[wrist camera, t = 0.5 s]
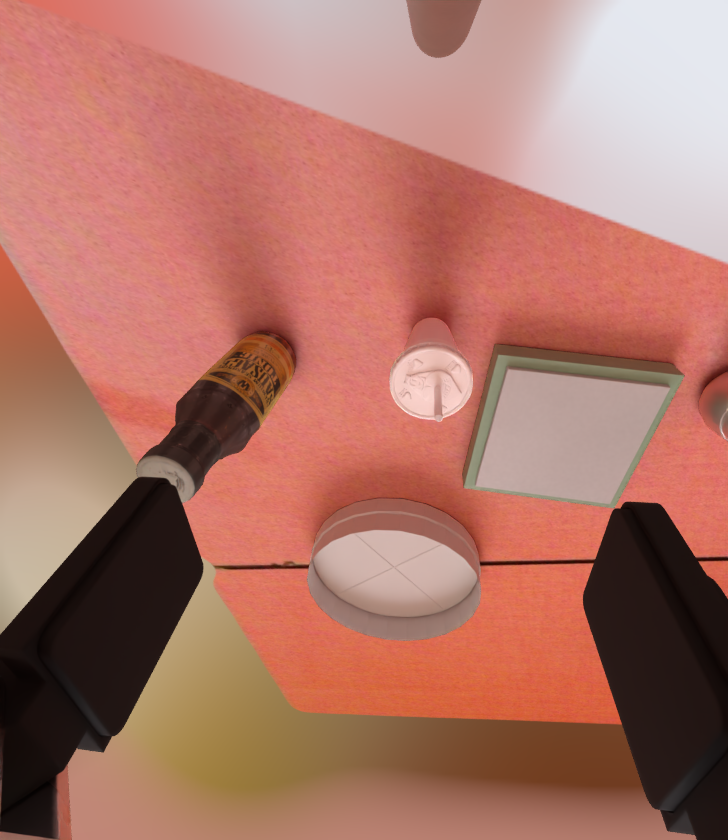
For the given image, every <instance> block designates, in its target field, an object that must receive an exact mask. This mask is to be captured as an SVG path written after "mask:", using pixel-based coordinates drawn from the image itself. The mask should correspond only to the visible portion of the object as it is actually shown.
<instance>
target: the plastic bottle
mask: <svg viewBox="0 0 728 840" xmlns="http://www.w3.org/2000/svg"><path fill="white" fill-rule="evenodd" d="M698 406H699V412H700V414H701V416H702V418H703V420H704V422H705V424H706V425H707V426H708V427H709V429H711V430H712V431H713V432H715V433H716V434H717V435H719V436H720V437H722V438H723V439H725V440H727V441H728V372H725V373H723V374H721V375H720V376H718V377H716V378H715V379H714V380H712V381H711V382H710V383H709V384H708V385H707V386H706V388H705V389H704V391H703V392H702V395H701V397H700V400H699V405H698Z"/></svg>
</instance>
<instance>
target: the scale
mask: <svg viewBox="0 0 728 840" xmlns="http://www.w3.org/2000/svg"><path fill="white" fill-rule="evenodd" d="M684 376H685V375H684V374H683V373H681V372H680V371H679V370H678V369H677V368H676V367H675V366H674V365H673V364H671V363H662V362H653V361H644V360H635V359H626V358H617V357H608V356H599V355H590V354H581V353H572V352H563V351H554V350H545V349H536V348H527V347H519V346H510V345H501V344H495V345H494V349H493V353H492V357H491V361H490V365H489V369H488V373H487V377H486V381H485V385H484V389H483V393H482V397H481V401H480V405H479V409H478V413H477V417H476V421H475V425H474V429H473V433H472V437H471V441H470V445H469V449H468V453H467V457H466V461H465V465H464V469H463V473H462V476H463V487H464V488H467V489H474V490H481V491H489V492H496V493H504V494H511V495H519V496H526V497H534V498H541V499H548V500H556V501H563V502H571V503H578V504H586V505H593V506H600V507H608V508H615V506H616V504H617V502H618V500H619V498H620V497H621V495H622V493H623V491H624V489H625V487H626V485H627V483H628V482H629V480H630V478H631V476H632V474H633V472H634V470H635V468H636V466H637V465H638V463H639V461H640V459H641V457H642V455H643V453H644V451H645V450H646V448H647V446H648V444H649V442H650V440H651V438H652V436H653V434H654V433H655V431H656V429H657V427H658V425H659V423H660V421H661V419H662V418H663V416H664V414H665V412H666V410H667V408H668V406H669V404H670V402H671V401H672V399H673V397H674V395H675V393H676V391H677V389H678V387H679V386H680V384H681V382H682V380H683V378H684Z"/></svg>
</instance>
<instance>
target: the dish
mask: <svg viewBox="0 0 728 840" xmlns="http://www.w3.org/2000/svg"><path fill="white" fill-rule="evenodd" d="M480 572H481V568H480V562H479V554H478V551H477V548H476V545H475V542H474V540H473V538H472V537H471V536H470V534H469V533H468V532H467V530H466V529H465V528H464V526H463V525H462V524H460V523H459V522H458V521H456V520H455V519H454V518H452V517H451V516H449V515H448V514H447V513H445V512H443V511H440V510H438V509H436V508H434V507H431V506H429V505H427V504H424V503H419V502H415V501H410V500H406V499H395V498H376V499H371V500H365V501H360V502H356V503H353V504H351V505H349V506H346V507H344V508H342V509H339V510H337V511H336V512H335V513H334V514H333V515H331V516H330V517H329V518H328V519H327V520H325V521H324V523H323V525H322V526H321V528H320V529H319V531H318V533H317V534H316V538H315V542H314V545H313V549H312V554H311V560H310V565H309V570H308V576H307V582H308V586H309V590H310V594H311V595H312V597H313V598H314V600H315V601H316V603H317V605H318V606H319V607H320V608H321V609H322V610H323V611H324V612H325V613H326V614H327V615H328V616H330V617H331V618H332V619H334V620H335V621H337V622H339V623H340V624H342V625H344V626H345V627H347V628H349V629H352V630H354V631H357V632H360V633H362V634H365V635H368V636H373V637H377V638H382V639H387V640H402V641H410V640H423V639H429V638H433V637H437V636H441V635H445V634H447V633H449V632H451V631H453V630H455V629H457V628H459V627H461V626H462V625H463V624H464V623H465V622H466V621H468V620H469V619H470V618H471V617H472V616H473V615H474V613H475V611H476V609H477V607H478V606H479V604H480V596H481V584H480Z"/></svg>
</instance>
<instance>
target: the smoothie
mask: <svg viewBox="0 0 728 840" xmlns="http://www.w3.org/2000/svg"><path fill="white" fill-rule="evenodd" d="M389 380H390V391H391V394H392V397H393V399H394V401H395V402H396V404H397V405H398V406H399V407H400V408H401V409H402V410H403V411H405V412H406V413H408V414H410V415H412V416H414V417H417V418H421V419H428V420H433V419H435V420H436V421H437V422H440V421H442V419H443V418H445V417H447V416H450V415H452V414H454V413H455V412H457V411H458V410H460V409H461V408H462V407H463V406H464V405H465V403H466V402H467V401H468V399H469V397H470V395H471V392H472V388H473V376H472V369H471V366H470V364H469V361H468V360H467V359H466V357H465V356H464V355H463V354H462V353H461V352H460V351H459V349H458V347H457V345H456V343H455V340H454V338H453V336H452V334H451V332H450V330H449V327H448V326H447V324H446V323H445V322H443V321H442V320H440V319H437V318H425V319H423V320H421V321H419V322H418V323H417V324H416V325H415V326H414V328H413V329H412V332H411V334H410V336H409V339H408V341H407V343H406V345H405V348H404V350H403V352H402V353H401V354H400V355H399V356H398V358H397V359H396V360H395V361H394V363H393V366H392V368H391V371H390V379H389Z"/></svg>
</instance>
